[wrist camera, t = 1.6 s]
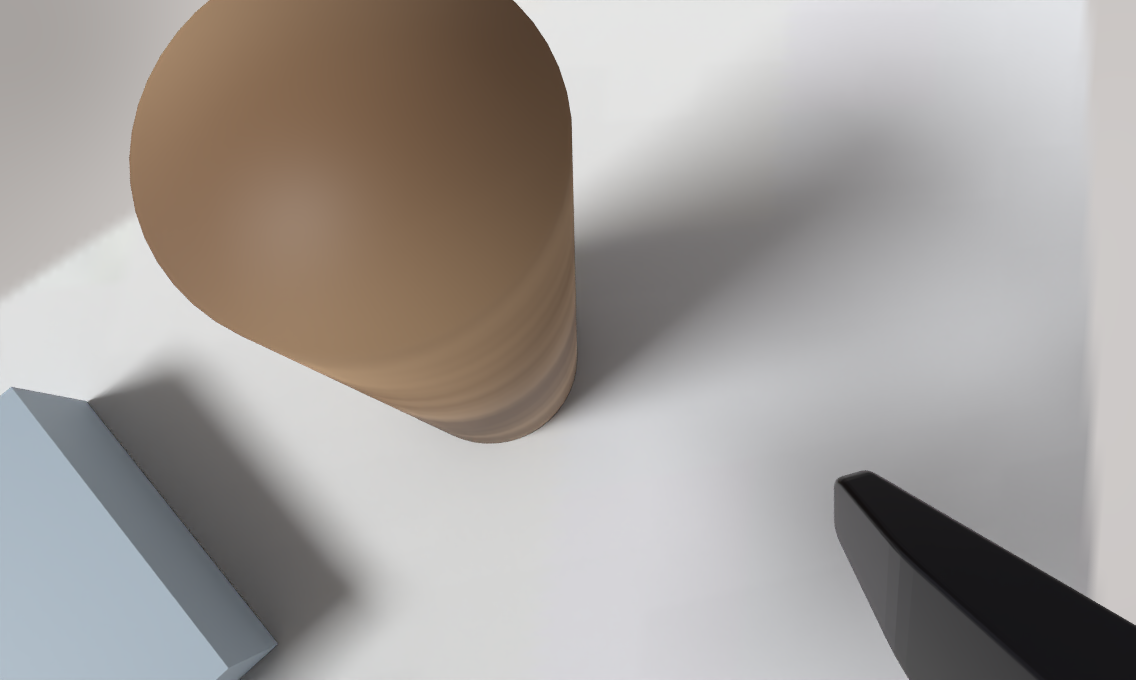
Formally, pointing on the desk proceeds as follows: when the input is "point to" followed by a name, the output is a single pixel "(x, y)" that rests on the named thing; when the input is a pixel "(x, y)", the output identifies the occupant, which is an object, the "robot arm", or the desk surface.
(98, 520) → the pale blue square tile
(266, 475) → the desk surface
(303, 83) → the walnut pillar
